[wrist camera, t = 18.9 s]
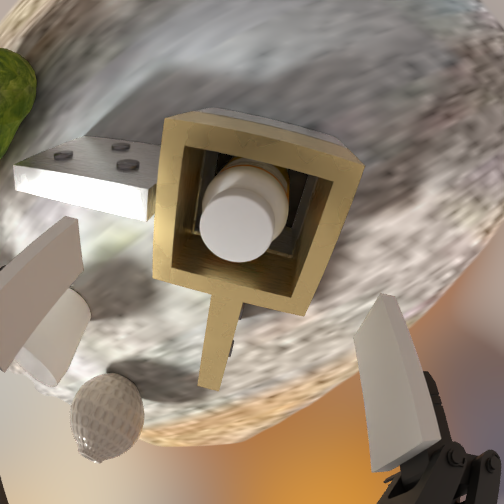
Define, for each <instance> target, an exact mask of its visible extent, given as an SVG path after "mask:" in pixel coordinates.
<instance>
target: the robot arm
mask: <svg viewBox="0 0 504 504" xmlns="http://www.w3.org/2000/svg"><path fill="white" fill-rule="evenodd" d="M83 271H84V268H83V261H82V253H81V245H80V236H79V226H78V219H75V218H71V217H67V216H65V217H63V218H62V219H61V220H59V221H58V222H57V223H56V224H54V225H53V226H52V227H51V228H49V229H48V230H47V231H46V232H44V233H43V234H42V235H41V236H39V237H38V238H37V239H36V240H35V241H33V242H32V243H31V244H30V245H29V246H28V247H26V248H25V249H24V250H23V251H22V252H21V253H19V254H18V255H17V256H16V257H15V258H14V259H13V260H12V261H11V262H10V263H8V264H7V265H5V266H3V267H1V268H0V370H1V371H3V372H6V370H7V369H8V367H9V366H10V364H11V363H12V361H13V360H14V358H15V357H16V355H17V354H18V352H19V351H20V350H21V348H22V347H23V345H24V344H25V343H26V341H27V340H28V338H29V337H30V336H31V334H32V333H33V332H34V330H35V329H36V328H37V326H38V325H39V324H40V322H41V321H42V320H43V319H44V317H45V316H46V315H47V313H48V312H49V311H50V310H51V308H52V307H53V306H54V305H55V303H56V302H57V301H58V300H59V299H60V297H61V296H62V295H63V294H64V293H65V291H66V290H67V289H68V288H69V287H70V286H71V284H72V283H73V282H74V281H75V280H76V279H77V277H78V276H79V275H80V274H81V273H82V272H83ZM353 338H354V344H355V349H356V355H357V360H358V366H359V372H360V378H361V384H362V391H363V397H364V405H365V411H366V420H367V428H368V437H369V446H370V457H371V469H372V472H384V471H390V470H392V469H394V468H396V467H398V466H399V465H400V470H401V471H400V472H398V473H396V474H395V475H392V476H390V477H388V478H387V479H386V480H385V481H384V483H387V482H389V481H391V480H392V482H391V484H389V485H388V488H387V489H386V491H385V492H384V494H383V495H382V497H381V498H380V500H379V501H378V502H377V504H497V499H498V492H499V484H500V476H501V461H500V457H499V456H498V454H497V453H496V452H495V451H493V450H488V451H486V452H484V453H482V454H481V455H480V456H476V455H471V454H466V452H465V450H464V448H463V447H462V446H461V445H460V444H459V443H457V442H452V439H451V437H450V432H449V428H448V424H447V421H446V416H445V413H444V409H443V406H441V404H442V402H441V399H440V396H438V395H439V392H438V389H437V386H436V383H435V381H434V380H433V378H432V377H431V375H430V374H429V372H427V371H423V370H422V367H421V364H420V361H419V358H418V355H417V353H416V350H415V347H414V344H413V341H412V338H411V336H410V333H409V330H408V328H407V325H406V322H405V320H404V317H403V315H402V312H401V310H400V307H399V305H398V302H397V300H396V297H395V296H391V295H387V294H382V293H380V295H379V296H378V298H377V300H376V302H375V303H374V305H373V307H372V308H371V310H370V312H369V313H368V315H367V317H366V318H365V320H364V321H363V323H362V325H361V326H360V328H359V329H358V331H357V333H356V334H355V336H354V337H353ZM465 494H467V496H466V500H465V501H463V502H461V503H460V497H461V496H463V495H465ZM0 504H9V503H8V501H7V498H6V494H5V491H4V488H3V484H2V481H1V477H0Z"/></svg>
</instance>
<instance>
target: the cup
mask: <svg viewBox="0 0 504 504" xmlns="http://www.w3.org/2000/svg"><path fill="white" fill-rule="evenodd" d="M90 319H91V311H90V309H89V307H88V305H87V303H86V302H85V300H84V299H83V298H82V297H81V296H80V295H79V294H78V293H77V292H75V291H74V290H72V289H70V288H68V289H67V290H66V291H65V293H64V294H63V295H62V296H61V297H60V299H59V300H58V301H57V302H56V303H55V305H54V306H53V307H52V308H51V310H50V311H49V312H48V313H47V315H46V316H45V317H44V319H43V320H42V321H41V322H40V324H39V325H38V326H37V328H36V329H35V330H34V332H33V333H32V334H31V336H30V337H29V338H28V340H27V341H26V343H25V344H24V345H23V347H22V348H21V350H20V351H19V352H18V354H17V355H16V357H15V358H14V359H15V361H16V362H17V363H18V364H19V365H20V366H21V367H22V368H23V369H24V370H25V371H26V372H27V373H28V374H30V375H31V376H32V377H33V378H35V379H36V380H38V381H39V382H41V383H43V384H45V385H47V386H49V387H56V386H57V385H58V383H59V382H60V380H61V379H62V377H63V376H64V375H65V373H66V372H67V370H68V368H69V366H70V364H71V361H72V359H73V357H74V354H75V352H76V350H77V347H78V345H79V343H80V340H81V338H82V336H83V334H84V332H85V329H86V327H87V325H88V323H89V321H90Z"/></svg>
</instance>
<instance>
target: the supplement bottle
mask: <svg viewBox="0 0 504 504" xmlns="http://www.w3.org/2000/svg"><path fill="white" fill-rule="evenodd" d="M289 188H290V179H289V173H288V170H287V168H284V167H280V166H276V165H272V164H268V163H264V162H260V161H256V160H252V159H247V158H243V157H239V156H234V157H232V158H231V159H230V161H229V162H228V163H227V164H226V165H225V166H224V167H223V168H222V170H221V171H220V172H219V173H218V174H217V175H216V176H215V178H214V179H213V180H212V181H211V182H210V184H209V185H208V187H207V189H206V191H205V193H204V196H203V200H202V216H201V219H200V233H201V236H202V239H203V241H204V243H205V244H206V246H207V247H208V248H209V249H210V250H211V251H212V252H213V253H214V254H215V255H217V256H218V257H220V258H222V259H225V260H228V261H232V262H247V261H251V260H253V259H256V258H258V257H259V256H261V255H262V254H263V253H264V252H265V251H266V250H267V249H268V248H269V246H270V244H271V242H272V241H273V240H274V239H275V238H276V237H277V236H278V235H279V234H280V233H281V232H282V230H283V228H284V226H285V224H286V221H287V217H288V211H289Z"/></svg>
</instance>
